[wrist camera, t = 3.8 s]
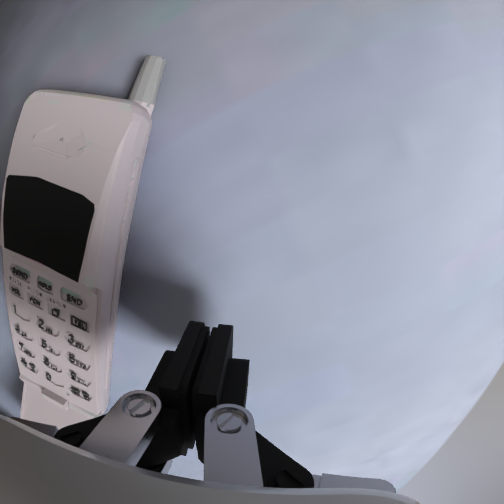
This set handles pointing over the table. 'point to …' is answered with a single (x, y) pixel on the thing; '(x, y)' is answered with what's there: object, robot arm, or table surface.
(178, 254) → the table surface
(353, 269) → the table surface
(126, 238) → the mobile phone
